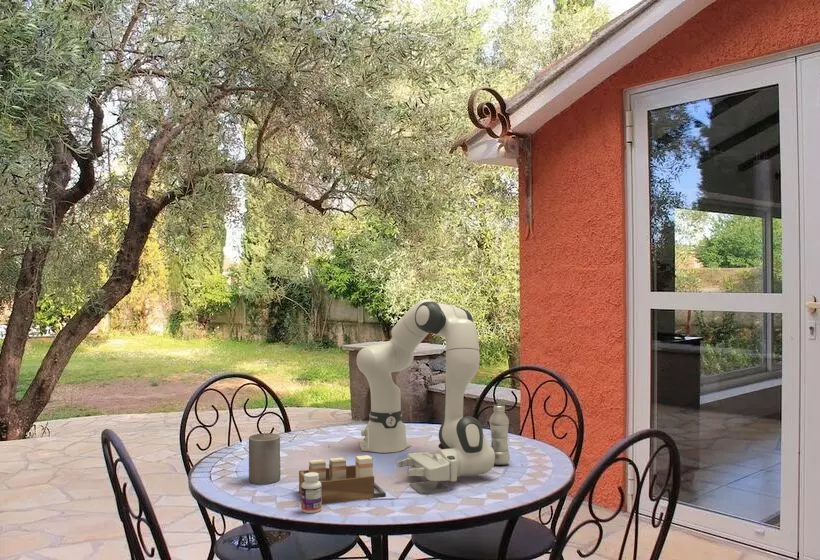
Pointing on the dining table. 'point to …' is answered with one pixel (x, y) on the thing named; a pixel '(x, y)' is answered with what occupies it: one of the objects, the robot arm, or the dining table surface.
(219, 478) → the dining table surface
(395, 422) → the robot arm
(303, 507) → the pill bottle
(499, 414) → the plastic bottle
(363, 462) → the banded cream pillar
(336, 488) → the dispenser
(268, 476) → the pillar candle
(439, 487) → the pad
